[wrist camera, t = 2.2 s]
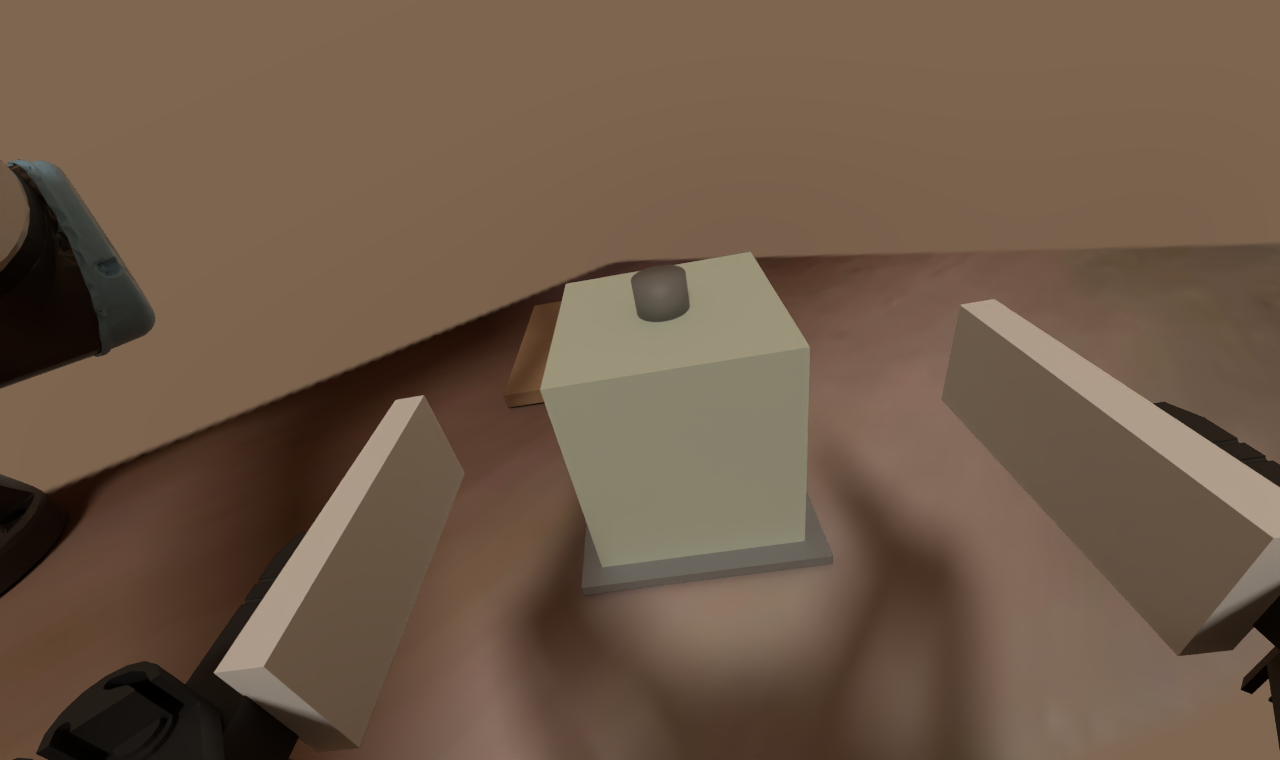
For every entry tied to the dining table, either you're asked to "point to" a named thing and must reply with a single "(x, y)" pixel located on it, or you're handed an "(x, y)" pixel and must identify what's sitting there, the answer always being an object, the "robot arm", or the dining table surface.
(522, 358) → the board
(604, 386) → the knobbed cream cube
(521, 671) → the dining table surface
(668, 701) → the dining table surface
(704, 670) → the dining table surface
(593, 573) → the coaster
